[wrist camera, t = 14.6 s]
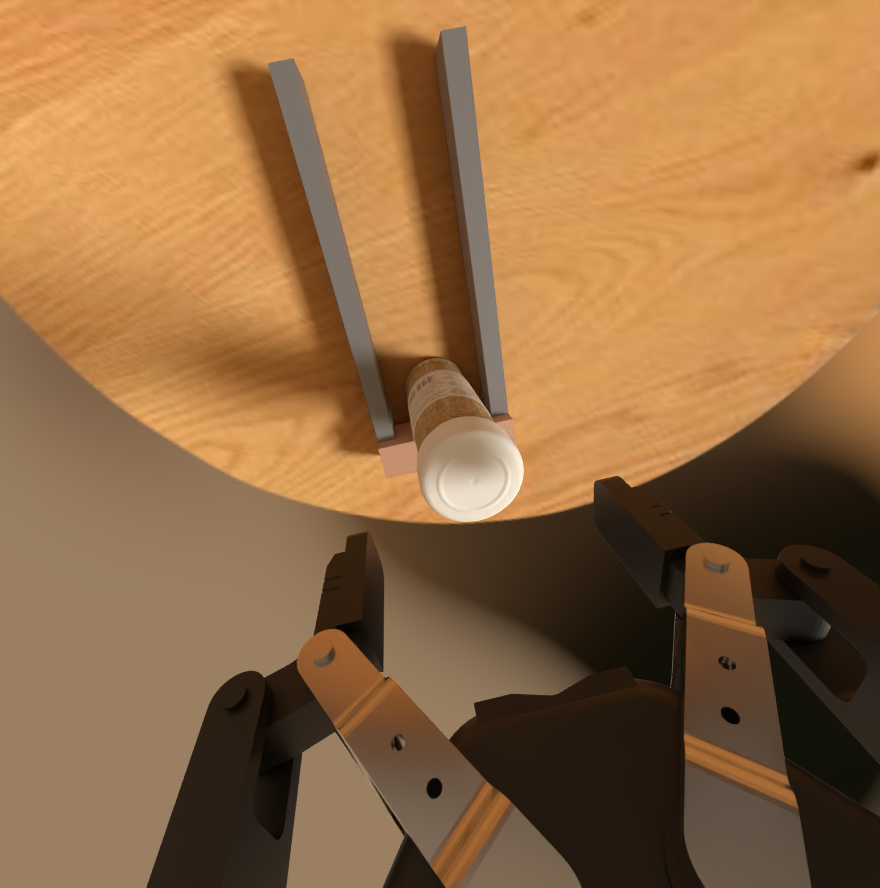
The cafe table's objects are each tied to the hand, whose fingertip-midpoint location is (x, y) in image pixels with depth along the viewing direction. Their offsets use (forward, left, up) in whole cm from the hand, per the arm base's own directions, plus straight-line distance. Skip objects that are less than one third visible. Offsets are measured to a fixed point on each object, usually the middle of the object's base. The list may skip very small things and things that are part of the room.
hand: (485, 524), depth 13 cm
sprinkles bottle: (0, 0, -17) cm, 17 cm away
